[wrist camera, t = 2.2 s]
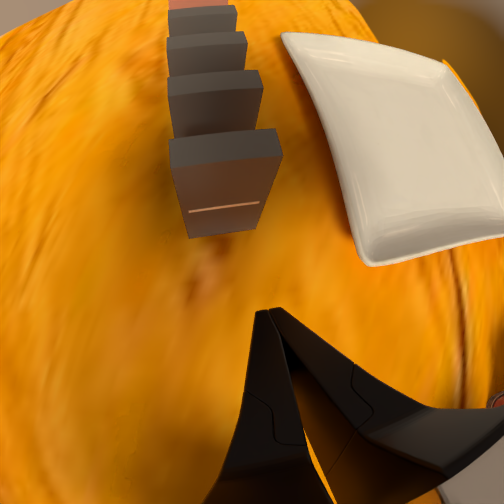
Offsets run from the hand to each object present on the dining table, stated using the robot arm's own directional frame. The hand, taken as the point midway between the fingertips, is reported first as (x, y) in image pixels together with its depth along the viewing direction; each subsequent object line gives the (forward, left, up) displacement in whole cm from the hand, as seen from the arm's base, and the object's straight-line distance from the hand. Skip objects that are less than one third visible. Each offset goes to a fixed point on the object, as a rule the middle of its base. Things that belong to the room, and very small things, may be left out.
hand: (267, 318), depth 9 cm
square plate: (+27, +2, -12) cm, 30 cm away
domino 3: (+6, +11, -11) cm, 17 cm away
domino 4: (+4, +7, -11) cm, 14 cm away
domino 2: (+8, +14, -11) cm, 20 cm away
